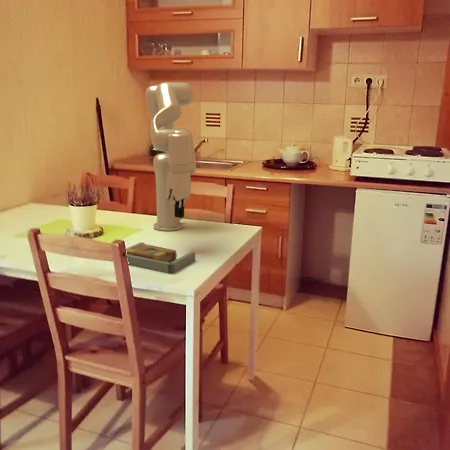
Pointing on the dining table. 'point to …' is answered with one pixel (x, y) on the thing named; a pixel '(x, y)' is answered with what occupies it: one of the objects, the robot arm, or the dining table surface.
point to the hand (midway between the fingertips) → (179, 216)
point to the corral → (160, 262)
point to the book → (153, 253)
